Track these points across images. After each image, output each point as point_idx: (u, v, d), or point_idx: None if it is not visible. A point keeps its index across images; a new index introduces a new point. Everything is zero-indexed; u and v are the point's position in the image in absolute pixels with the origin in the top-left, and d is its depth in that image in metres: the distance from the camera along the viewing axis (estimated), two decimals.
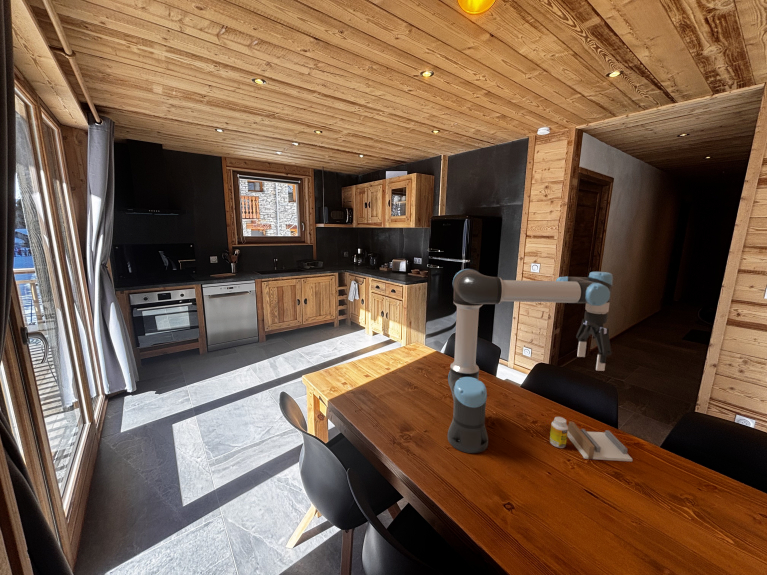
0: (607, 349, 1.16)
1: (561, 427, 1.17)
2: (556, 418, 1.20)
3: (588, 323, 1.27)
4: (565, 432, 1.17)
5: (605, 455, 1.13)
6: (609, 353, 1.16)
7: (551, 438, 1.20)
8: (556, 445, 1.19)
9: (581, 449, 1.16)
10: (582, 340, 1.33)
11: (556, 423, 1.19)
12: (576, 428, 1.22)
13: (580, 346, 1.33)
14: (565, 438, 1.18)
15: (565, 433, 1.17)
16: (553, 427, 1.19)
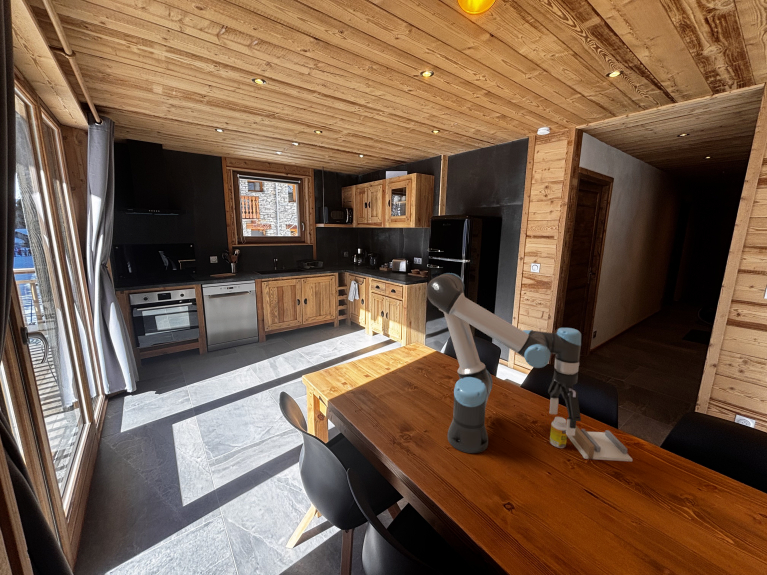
0: (576, 414, 1.08)
1: (561, 427, 1.17)
2: (556, 418, 1.20)
3: (558, 381, 1.19)
4: (565, 432, 1.17)
5: (605, 455, 1.13)
6: (578, 419, 1.08)
7: (551, 438, 1.20)
8: (556, 445, 1.19)
9: (581, 449, 1.16)
10: (554, 396, 1.25)
11: (556, 423, 1.19)
12: (576, 428, 1.22)
13: (552, 403, 1.25)
14: (565, 438, 1.18)
15: (565, 433, 1.17)
16: (553, 427, 1.19)
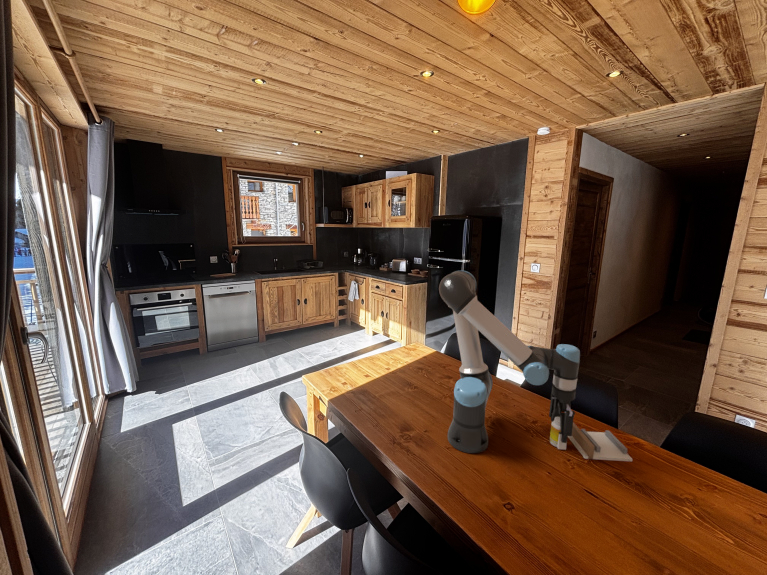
0: (568, 431, 1.13)
1: None
2: (556, 418, 1.20)
3: None
4: None
5: (605, 455, 1.13)
6: (569, 435, 1.13)
7: (551, 438, 1.20)
8: (556, 445, 1.19)
9: (581, 449, 1.16)
10: None
11: (556, 423, 1.19)
12: (576, 428, 1.22)
13: None
14: None
15: None
16: (553, 427, 1.19)
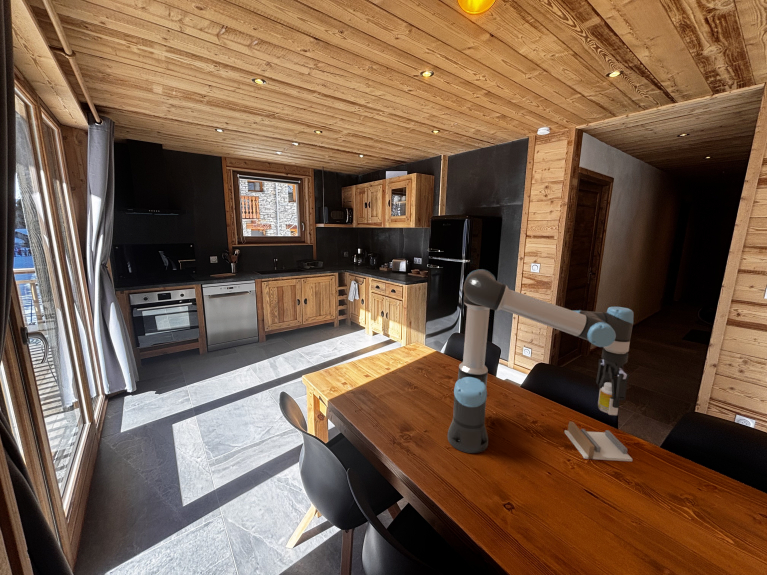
0: (621, 395, 1.10)
1: None
2: (606, 383, 1.16)
3: (605, 361, 1.17)
4: None
5: (605, 455, 1.13)
6: (622, 399, 1.10)
7: (601, 404, 1.17)
8: (607, 411, 1.15)
9: (581, 449, 1.16)
10: None
11: (606, 388, 1.15)
12: (576, 428, 1.22)
13: None
14: None
15: None
16: (603, 392, 1.16)
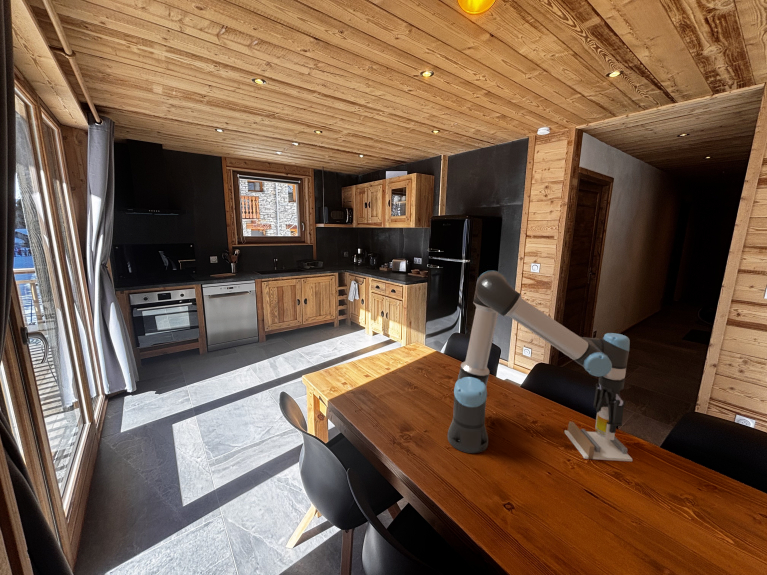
0: (618, 421, 1.11)
1: None
2: (603, 408, 1.18)
3: (602, 386, 1.19)
4: None
5: (605, 455, 1.13)
6: (619, 425, 1.11)
7: (598, 428, 1.18)
8: (604, 435, 1.17)
9: (581, 449, 1.16)
10: None
11: (603, 413, 1.17)
12: (576, 428, 1.22)
13: None
14: None
15: None
16: (600, 417, 1.17)
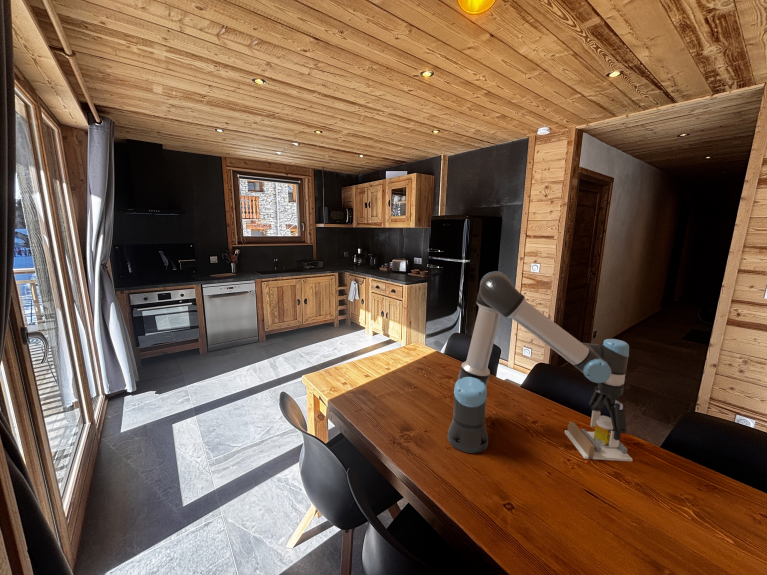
0: (622, 427, 1.09)
1: (607, 426, 1.17)
2: (601, 417, 1.19)
3: (602, 392, 1.19)
4: None
5: (605, 455, 1.13)
6: (624, 431, 1.09)
7: (596, 437, 1.19)
8: (601, 444, 1.18)
9: (581, 449, 1.16)
10: (596, 409, 1.24)
11: (602, 422, 1.18)
12: (576, 428, 1.22)
13: (594, 416, 1.24)
14: None
15: None
16: (598, 426, 1.18)
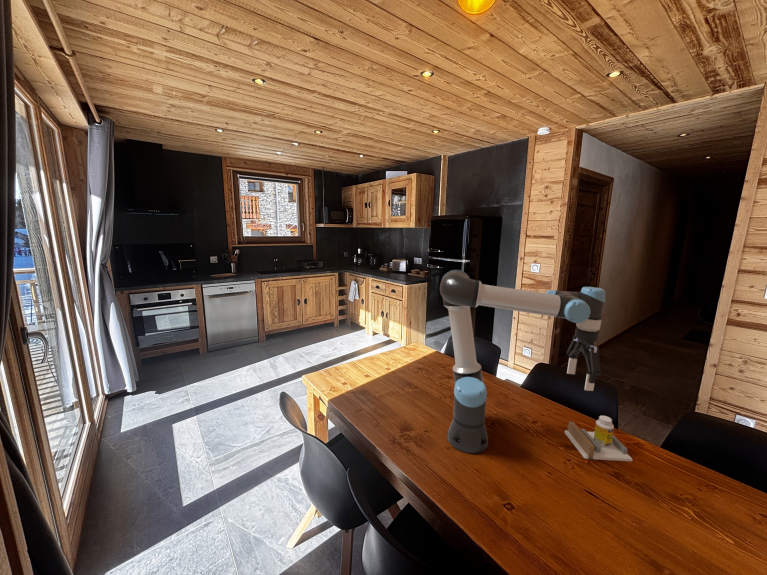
0: (596, 369, 1.11)
1: (607, 426, 1.16)
2: (601, 417, 1.19)
3: (579, 340, 1.22)
4: (611, 431, 1.16)
5: (605, 455, 1.13)
6: (598, 373, 1.11)
7: (596, 437, 1.19)
8: (601, 444, 1.18)
9: (581, 449, 1.16)
10: (572, 357, 1.28)
11: (601, 422, 1.18)
12: (576, 428, 1.22)
13: (570, 363, 1.27)
14: (611, 437, 1.17)
15: (611, 432, 1.16)
16: (598, 426, 1.18)
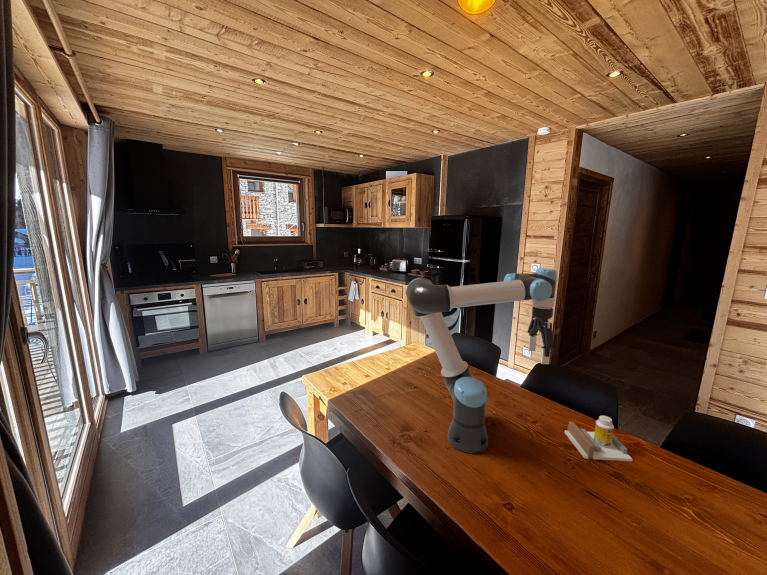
0: (550, 343, 1.20)
1: (607, 426, 1.17)
2: (601, 417, 1.19)
3: (536, 318, 1.31)
4: (611, 431, 1.16)
5: (605, 455, 1.13)
6: (551, 347, 1.20)
7: (596, 437, 1.19)
8: (601, 444, 1.18)
9: (581, 449, 1.16)
10: (532, 335, 1.37)
11: (601, 422, 1.18)
12: (576, 428, 1.22)
13: (530, 341, 1.37)
14: (611, 437, 1.17)
15: (611, 432, 1.16)
16: (598, 426, 1.18)
